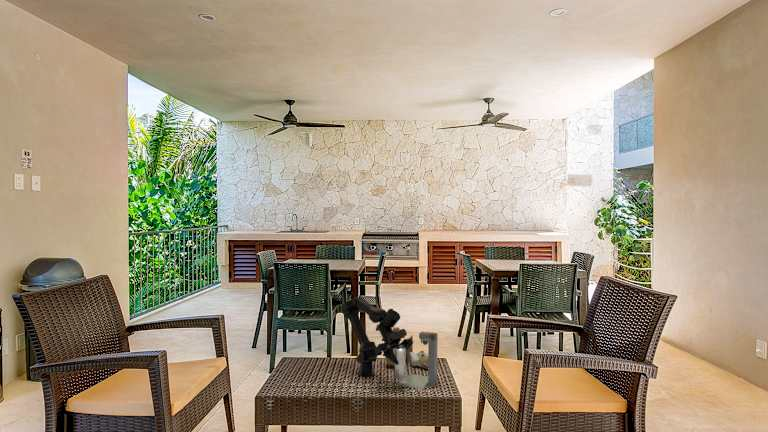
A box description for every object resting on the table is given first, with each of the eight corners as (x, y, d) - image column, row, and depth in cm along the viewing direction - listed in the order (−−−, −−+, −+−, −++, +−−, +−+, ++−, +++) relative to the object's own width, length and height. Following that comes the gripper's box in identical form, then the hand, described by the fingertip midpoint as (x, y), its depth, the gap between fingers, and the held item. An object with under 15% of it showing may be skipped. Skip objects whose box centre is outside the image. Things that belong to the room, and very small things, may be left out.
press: (394, 388, 202) (394, 336, 203) (409, 376, 219) (410, 327, 220) (427, 394, 196) (427, 340, 196) (440, 381, 213) (440, 331, 213)
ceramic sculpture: (413, 346, 241) (440, 350, 236) (412, 362, 241) (439, 367, 236) (406, 351, 232) (434, 356, 226) (405, 368, 232) (433, 373, 226)
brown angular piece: (412, 363, 240) (412, 329, 240) (392, 362, 241) (392, 328, 242) (412, 361, 244) (412, 327, 244) (392, 360, 245) (393, 327, 246)
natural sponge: (397, 370, 228) (398, 350, 228) (382, 368, 231) (382, 348, 232) (404, 365, 236) (405, 346, 236) (389, 363, 240) (389, 344, 240)
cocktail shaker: (392, 377, 201) (392, 345, 202) (401, 375, 204) (401, 343, 204) (398, 380, 197) (399, 347, 198) (407, 378, 200) (407, 346, 200)
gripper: (378, 325, 199) (393, 357, 190) (410, 320, 210) (426, 350, 201) (368, 340, 205) (382, 371, 196) (400, 334, 216) (415, 363, 207)
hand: (402, 363), depth 200 cm, fingers closed on cocktail shaker, 5 cm apart
